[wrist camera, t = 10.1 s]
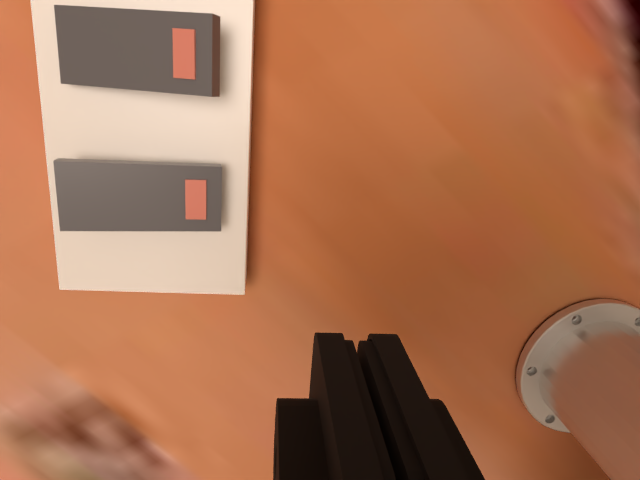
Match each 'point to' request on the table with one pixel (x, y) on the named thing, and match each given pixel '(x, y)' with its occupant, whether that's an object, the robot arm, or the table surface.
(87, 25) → the rocker
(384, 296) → the table surface
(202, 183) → the rocker
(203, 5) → the rocker switch panel
